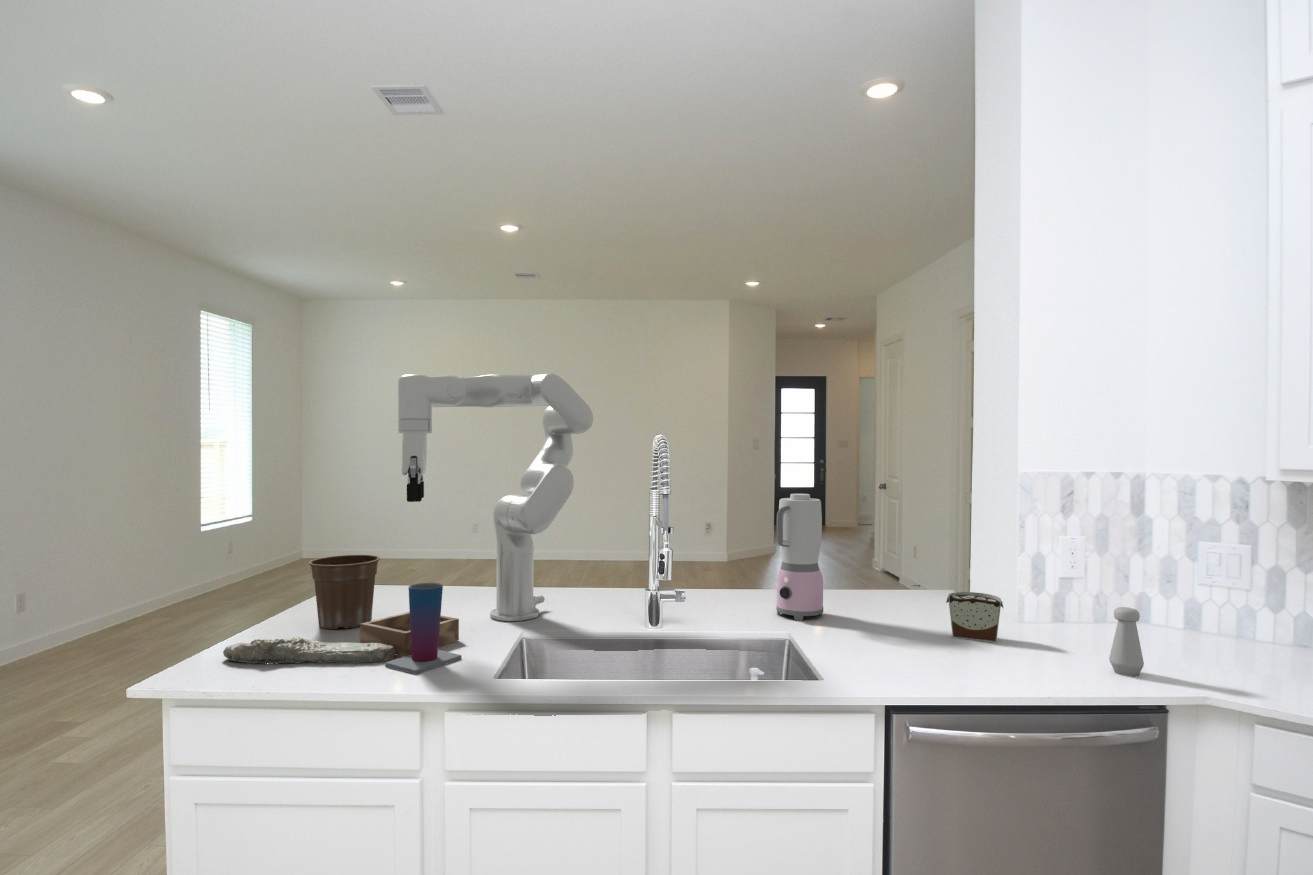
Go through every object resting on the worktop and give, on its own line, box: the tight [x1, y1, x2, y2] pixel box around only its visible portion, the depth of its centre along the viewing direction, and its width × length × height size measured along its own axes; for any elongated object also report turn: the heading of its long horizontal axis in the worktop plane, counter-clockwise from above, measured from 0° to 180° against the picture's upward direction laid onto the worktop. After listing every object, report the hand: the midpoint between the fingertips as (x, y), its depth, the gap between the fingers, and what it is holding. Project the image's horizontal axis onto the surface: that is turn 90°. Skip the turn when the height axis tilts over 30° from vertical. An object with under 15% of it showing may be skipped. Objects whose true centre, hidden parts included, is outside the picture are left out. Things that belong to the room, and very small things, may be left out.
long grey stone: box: [222, 636, 396, 665], centre depth 153 cm, size 35×5×10 cm
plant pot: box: [308, 554, 381, 630], centre depth 182 cm, size 16×16×16 cm
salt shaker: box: [1108, 606, 1145, 678], centre depth 146 cm, size 6×6×13 cm
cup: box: [408, 582, 444, 662], centre depth 151 cm, size 7×7×15 cm
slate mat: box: [384, 649, 462, 675], centre depth 151 cm, size 12×9×1 cm
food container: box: [945, 591, 1005, 643], centre depth 173 cm, size 12×6×10 cm, turn 65°
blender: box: [776, 493, 824, 621], centre depth 192 cm, size 16×12×32 cm
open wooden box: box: [359, 611, 460, 657], centre depth 165 cm, size 15×15×5 cm
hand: (415, 499), depth 172 cm, fingers open, 9 cm apart
